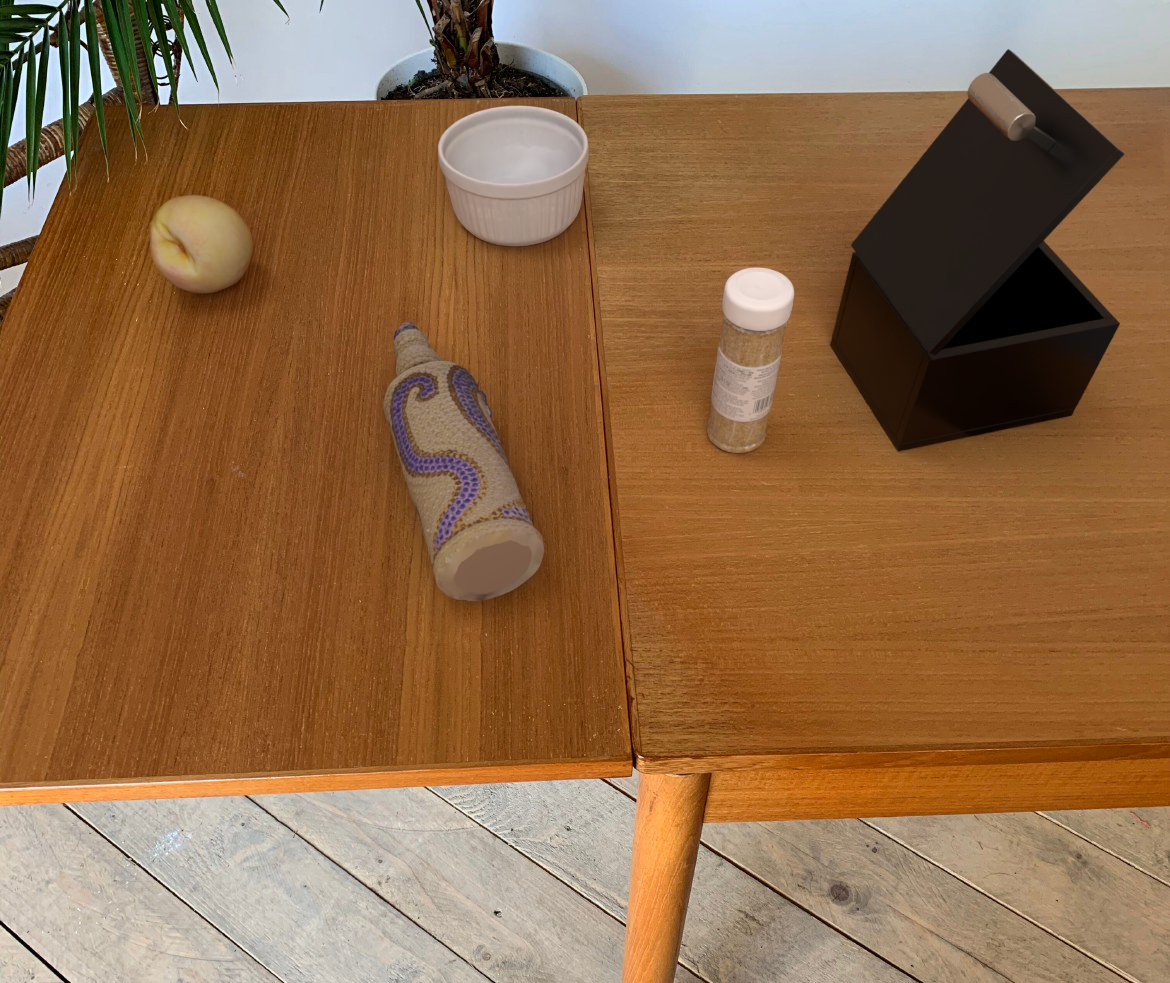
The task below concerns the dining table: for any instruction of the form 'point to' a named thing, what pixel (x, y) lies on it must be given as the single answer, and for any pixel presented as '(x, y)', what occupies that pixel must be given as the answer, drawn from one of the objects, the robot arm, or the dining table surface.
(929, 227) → the bin lid
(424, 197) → the dining table surface
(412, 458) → the decorative bottle
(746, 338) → the spice jar
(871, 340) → the bin
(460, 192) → the ramekin
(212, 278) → the fruit
